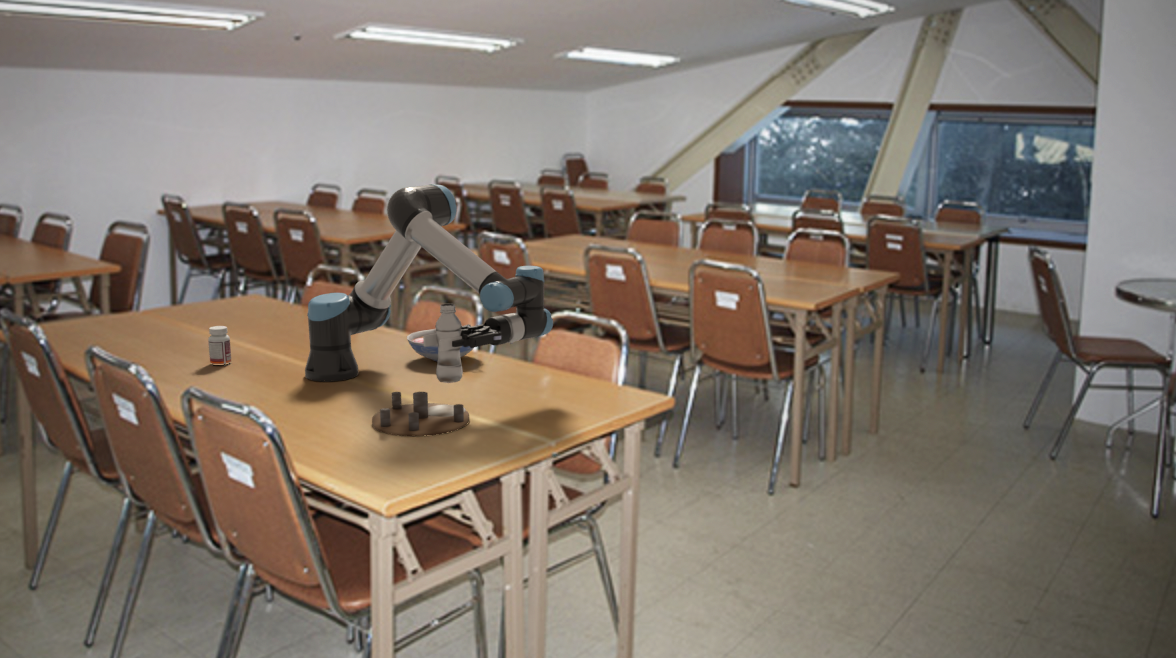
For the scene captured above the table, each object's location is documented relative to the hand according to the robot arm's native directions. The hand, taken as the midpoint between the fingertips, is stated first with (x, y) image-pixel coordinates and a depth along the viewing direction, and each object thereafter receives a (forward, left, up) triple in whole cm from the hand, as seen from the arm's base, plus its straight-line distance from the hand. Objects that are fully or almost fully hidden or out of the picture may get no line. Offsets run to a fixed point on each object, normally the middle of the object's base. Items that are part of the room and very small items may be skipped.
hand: (432, 343), depth 254 cm
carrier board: (-3, -2, -20) cm, 20 cm away
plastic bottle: (+4, +4, -11) cm, 12 cm away
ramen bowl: (-6, +62, -20) cm, 65 cm away
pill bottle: (-73, +55, -20) cm, 93 cm away
